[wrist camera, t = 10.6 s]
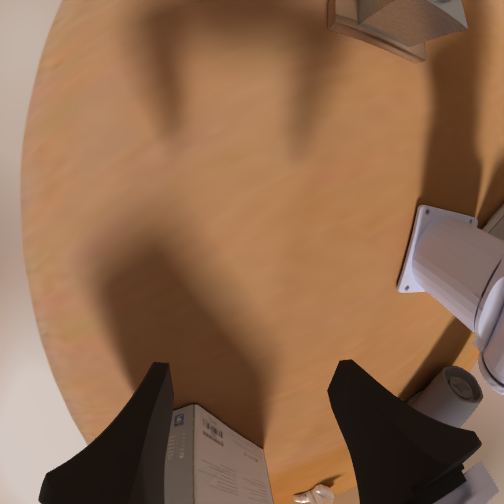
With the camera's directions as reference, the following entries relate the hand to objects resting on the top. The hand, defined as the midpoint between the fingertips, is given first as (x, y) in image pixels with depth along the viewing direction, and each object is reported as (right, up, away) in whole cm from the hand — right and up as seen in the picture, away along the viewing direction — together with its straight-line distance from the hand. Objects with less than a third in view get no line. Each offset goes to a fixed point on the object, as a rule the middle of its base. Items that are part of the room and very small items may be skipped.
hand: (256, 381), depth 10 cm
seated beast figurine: (+15, -50, +33) cm, 62 cm away
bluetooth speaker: (+24, -20, +22) cm, 38 cm away
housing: (+10, +24, +1) cm, 26 cm away
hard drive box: (-5, -18, +17) cm, 25 cm away
